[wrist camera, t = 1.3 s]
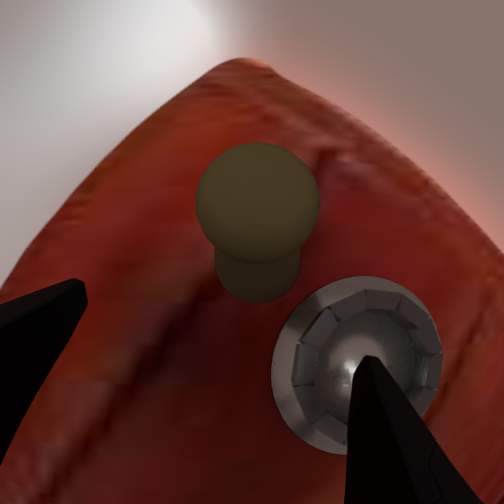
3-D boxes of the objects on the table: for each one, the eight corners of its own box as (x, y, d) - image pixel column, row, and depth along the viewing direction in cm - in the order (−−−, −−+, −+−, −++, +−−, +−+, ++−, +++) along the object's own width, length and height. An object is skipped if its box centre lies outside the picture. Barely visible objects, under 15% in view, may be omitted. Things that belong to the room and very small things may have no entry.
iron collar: (454, 397, 18) (473, 400, 15) (309, 479, 17) (315, 494, 14) (400, 252, 22) (415, 241, 19) (242, 320, 20) (240, 316, 18)
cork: (263, 321, 20) (271, 296, 10) (197, 266, 22) (145, 194, 11) (316, 254, 22) (365, 174, 11) (251, 206, 23) (247, 101, 12)
